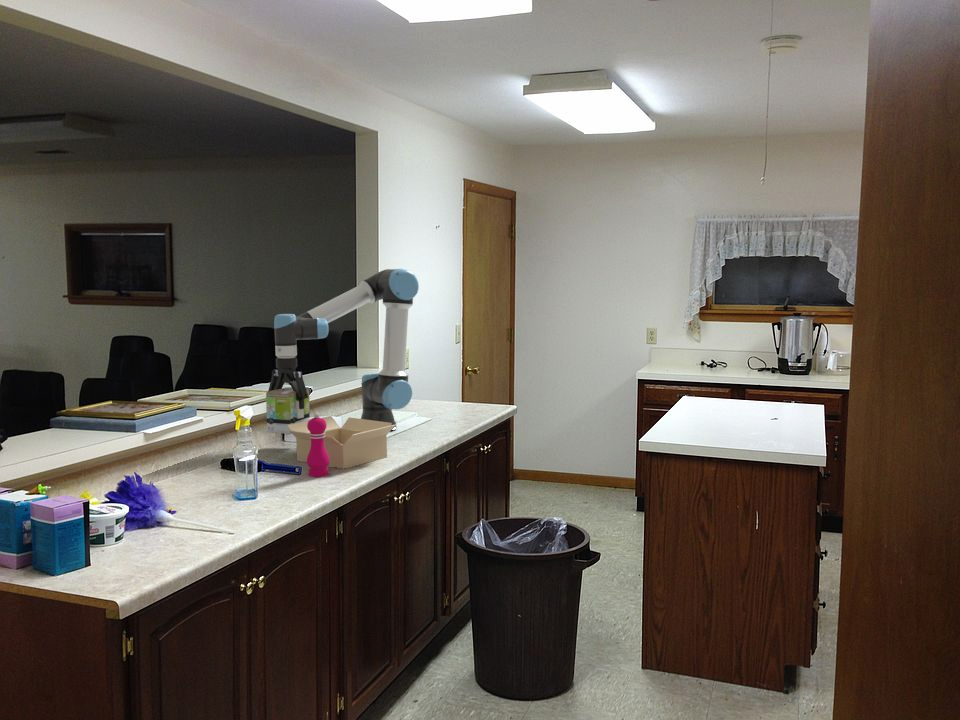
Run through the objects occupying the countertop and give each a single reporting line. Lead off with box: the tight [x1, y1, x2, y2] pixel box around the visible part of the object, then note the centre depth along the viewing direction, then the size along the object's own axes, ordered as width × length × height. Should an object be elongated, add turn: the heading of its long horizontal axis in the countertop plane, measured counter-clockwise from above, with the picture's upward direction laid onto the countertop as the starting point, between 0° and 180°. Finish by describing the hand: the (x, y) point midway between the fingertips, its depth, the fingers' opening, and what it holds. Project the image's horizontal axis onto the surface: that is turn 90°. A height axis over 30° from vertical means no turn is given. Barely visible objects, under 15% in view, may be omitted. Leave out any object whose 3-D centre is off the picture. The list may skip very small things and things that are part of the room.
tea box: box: [265, 386, 311, 434], centre depth 305 cm, size 15×10×15 cm
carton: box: [287, 415, 397, 470], centre depth 288 cm, size 28×32×12 cm
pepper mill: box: [306, 412, 330, 478], centre depth 266 cm, size 7×7×20 cm
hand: (288, 416), depth 305 cm, fingers closed on tea box, 12 cm apart
